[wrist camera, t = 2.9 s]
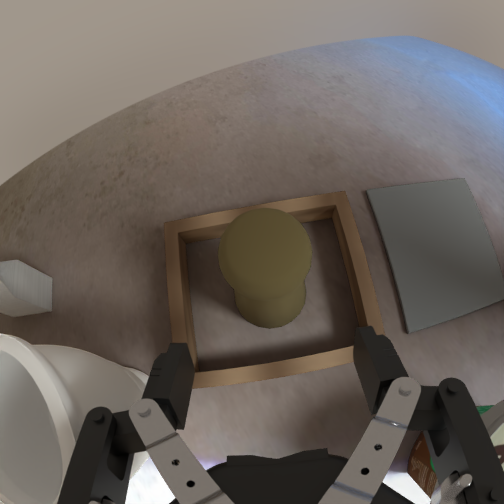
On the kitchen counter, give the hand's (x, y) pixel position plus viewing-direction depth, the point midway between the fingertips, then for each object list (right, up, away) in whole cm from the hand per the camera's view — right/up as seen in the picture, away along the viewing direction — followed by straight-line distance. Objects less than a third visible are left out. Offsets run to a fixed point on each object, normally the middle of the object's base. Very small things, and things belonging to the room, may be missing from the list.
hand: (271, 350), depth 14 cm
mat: (+18, +5, +12) cm, 22 cm away
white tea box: (-25, -1, +14) cm, 29 cm away
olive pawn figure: (+1, +1, +12) cm, 12 cm away
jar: (-12, -10, +9) cm, 18 cm away
